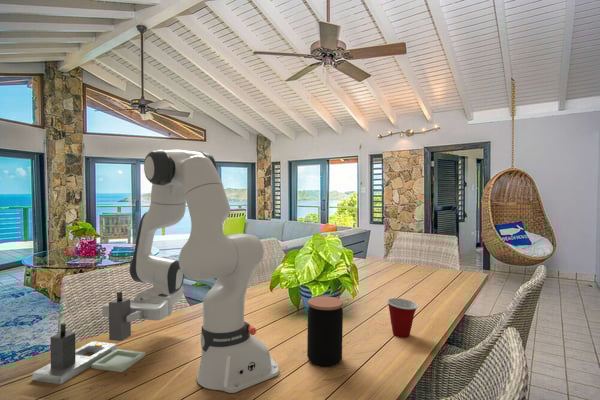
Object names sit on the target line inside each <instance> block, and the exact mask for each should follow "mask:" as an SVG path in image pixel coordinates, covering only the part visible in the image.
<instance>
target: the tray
mask: <svg viewBox="0 0 600 400" xmlns="http://www.w3.org/2000/svg"><path fill="white" fill-rule="evenodd" d="M144 357H146V352H145V351H138V350H137V351H136V350H129V349H128V350H127V349H122V348H121V349H120V348H117V349H116V350H114V351H113V352H111V353H109V354H108V355H106V356H104V357H103V358H101V359H100V360H98V361H96V362H95V363H93V364H92V366H91V369H97V370H105V371H111V372H119V373H123V372H124V371H126V370H127V369H129V368H130V367H131V366H133V365H135V364H136V363H138V362H139V361H140V360H141V359H143V358H144Z"/></svg>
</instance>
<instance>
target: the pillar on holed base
mask: <svg viewBox="0 0 600 400" xmlns="http://www.w3.org/2000/svg"><path fill="white" fill-rule="evenodd" d="M59 325H60V328H59V329H60V332H59V333H57V334H55V335H51V336H50V363H48V364H46V365H44V366H43V367H41V368H39V369H36V370H35V371H33V372H32V381H37V382H42V383H43V382H44V383H50V384H55V385H62V384H64V383H66V382H68V381H69V380H71V379H72V378H73V377H74V378H75V377H76V376H77V375H79V374H81V373H83V372H84V371H85V370H88V369H89V368H90V367H92V364H93V363H95V362H96V361H98V360H100V359H101V358H103V357H104V356H106V355H108V354H109V353H111V352H113V351H114V350H116V349H118V347H117V345H118V344H117V343H111V342H105V341H104V342H102V341H95V340H91V341H90V342H88V343H86V344H84V345H82V346H81V347H78V348H76V332H70V331H67V330H66V328H67V327H66V323H65V322H64V323H60V324H59ZM88 353H91V354H92V353H94V354H92V355H89V356H87V355H86V354H88Z"/></svg>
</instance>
